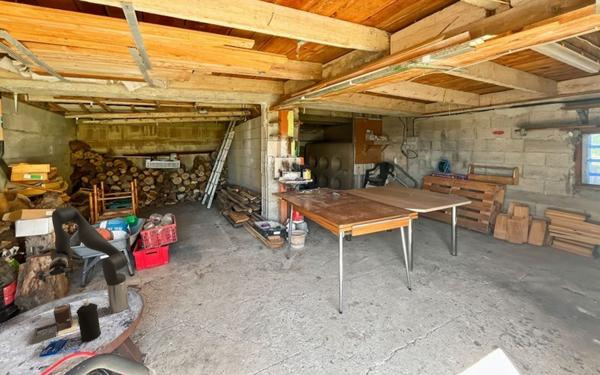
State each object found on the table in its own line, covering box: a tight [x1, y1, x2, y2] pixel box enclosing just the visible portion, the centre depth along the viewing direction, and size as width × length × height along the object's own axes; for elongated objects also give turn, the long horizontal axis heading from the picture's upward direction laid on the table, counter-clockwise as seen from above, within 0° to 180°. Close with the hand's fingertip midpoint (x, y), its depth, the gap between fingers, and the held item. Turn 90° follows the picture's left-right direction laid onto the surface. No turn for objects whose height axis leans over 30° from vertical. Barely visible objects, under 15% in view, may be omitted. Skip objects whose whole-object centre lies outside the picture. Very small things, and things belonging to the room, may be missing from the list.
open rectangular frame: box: [30, 322, 58, 346], centre depth 136 cm, size 9×11×3 cm
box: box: [53, 303, 73, 332], centre depth 140 cm, size 6×4×12 cm
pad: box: [57, 318, 79, 337], centre depth 141 cm, size 8×10×1 cm
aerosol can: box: [75, 299, 102, 343], centre depth 134 cm, size 8×8×20 cm
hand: (55, 278), depth 143 cm, fingers open, 8 cm apart
